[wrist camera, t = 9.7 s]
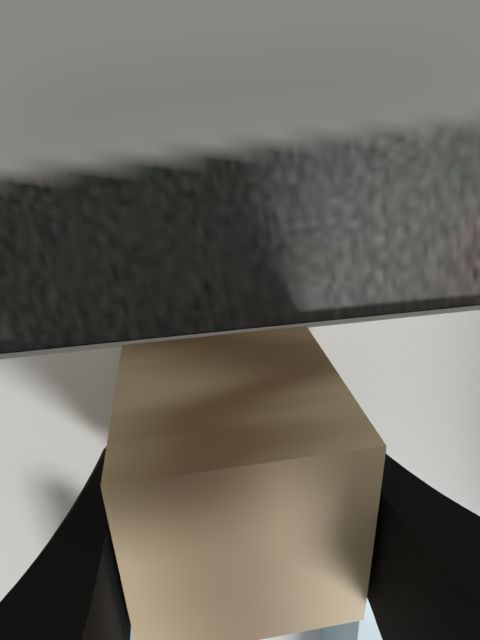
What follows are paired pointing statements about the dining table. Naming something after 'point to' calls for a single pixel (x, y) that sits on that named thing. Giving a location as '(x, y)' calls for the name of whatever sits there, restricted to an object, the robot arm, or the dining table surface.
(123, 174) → the dining table surface
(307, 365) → the maple block
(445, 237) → the dining table surface
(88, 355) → the white mat
